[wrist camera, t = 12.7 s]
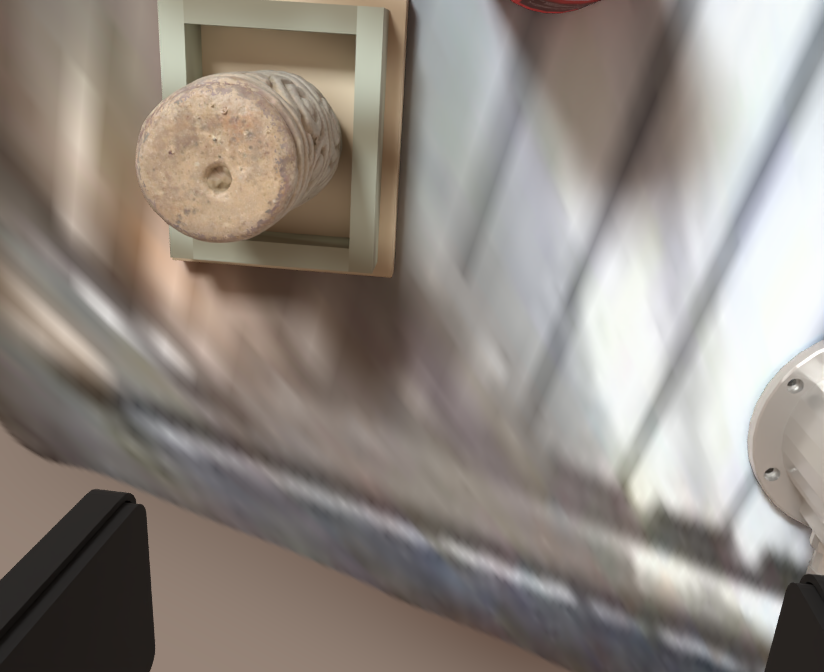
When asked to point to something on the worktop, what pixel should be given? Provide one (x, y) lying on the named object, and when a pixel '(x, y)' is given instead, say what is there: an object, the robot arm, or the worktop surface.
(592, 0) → the canned food
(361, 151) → the beige shallow tray
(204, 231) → the carving
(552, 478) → the worktop surface
